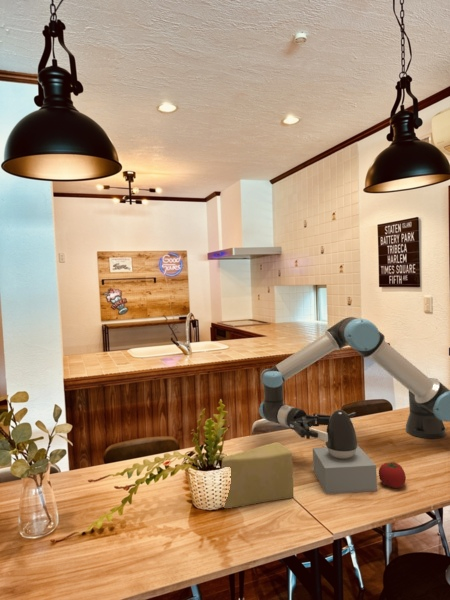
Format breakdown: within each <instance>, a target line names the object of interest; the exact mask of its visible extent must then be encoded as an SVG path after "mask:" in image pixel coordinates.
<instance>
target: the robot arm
mask: <svg viewBox="0 0 450 600" xmlns="http://www.w3.org/2000/svg"><path fill="white" fill-rule="evenodd" d="M385 337H386V336H385V335H384V334H383V333H382V332H381V331H380V330H379V328H378V327H377V326H376V325H375V324H374V323H373V322H372V321H370V320H368V319H366V318H359V317H358V318H357V317H354V316H351V317H345V318H343V319H342V320H340V321H338V322H336V323H334V324H333V325H332V326H331V327H329V328H328V329H325V332H324V334H323V335H321V336H320V337H318V338H317V339H315V340H314V341H312V342H311V343H309V344H307V345H306V346H304V347H302V348H300V350H298V351H296V352H294V353H293V354H292V355H290V356H288V357H286V358H285V359H283V360H282V361H280V362H279V363H278V364H275V365H274V366H272V367H271V368H266V369H264V370H263V371H262V372H261V373H260V383H261V385H262V388H263V396H264V399H263V401H262V402H261V403H260V404H259V407H258V413H259V415H260V417H261V418H262V419H263V420H266V421H268V422H271V423H275V424H278V425H281V426H284V427H286V428H290V430H293V431H294V432H295V433H296V434H297V435H298V436H299V437H301V438H303V439H305V438H306V440H310V439H311V438H313V439H316V440H319V441H322V442H328V433H326V431H323V430H320V429H315V428H313V427H319V426H328V422H329V419H330V417H331V415H332V414H331V415H329V414H319V413H315V412H314V413H313V414H312V415H311V414H307V413H306V411H305V410H303V409H302V408H298V407H294V406H291V405H287V404H284V382H286V381H287V380H289V379H290V378H292V377H293V376H295V375H296V374H298V373H300V372H301V371H303V370H304V369H306V368H308V367H310V366H311V365H313V364H314V363H315V362H317V361H318V360H320V359H322V358H323V357H325V356H327V355H328V354H330V353H331V352H333V351H335V350H336V351H339V350H341V349H343V348H345V347H348V346H349V347H350V348H352V349H353V350H355V352H356V353H358V354H359V355H360V356H361V357H362V358H368V359H369V358H370V359H371V360H372V361H374V362H375V364H377V365H378V366H380V368H382V369H383V370H385V372H387V373H388V374H389V375H390V376H392V378H394V379H395V380H396V381H397V382H399V383H400V384H401V385H402V386H403V387H404V388H406V389H407V390H408V402H409V403H408V404H409V406H408V407H409V414H408V417H407V420H406V423H405V432H406V433H407V434H409V435H411V436H413V437H418V438H421V439H440V438H443V437H446V435H447V434H446V433H447V431H446V426H445V424H444V422H445V423H446V422H450V389H449V388H448V387H447V386H445V385H444V384H443V383H442V382H441V381H440V380H439V379H438V378H434V377H433V378H432V377H428V375H426V374H425V373H423V371H421V370H420V369H419V368H417V367H416V365H414V364H413V363H412V362H410V360H408V359H407V358H406V357H404V356H403V355H402V354H401V353H400V352H399V351H397V350H396V349H395V348H393V347H392V346H391V345H390V344H389V343H387V342H386V339H385ZM352 424H353V425H354V422H352Z"/></svg>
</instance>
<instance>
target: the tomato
mask: <svg viewBox="0 0 450 600" xmlns="http://www.w3.org/2000/svg"><path fill="white" fill-rule="evenodd" d="M378 478H379V480H380V482H381V483H382V484H383V485H384V486H386V487H390V488H392V489H400V488H402V487H403V486H404V485H405V483H406V478H407V477H406V473H405V471H404V468H403V467H402V466H401V465H400V464H399V463H397V462H395V461H391V462H385V463H383V464H381V465H380V466H379V468H378Z"/></svg>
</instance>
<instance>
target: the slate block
mask: <svg viewBox="0 0 450 600" xmlns="http://www.w3.org/2000/svg"><path fill="white" fill-rule="evenodd" d="M312 464H313V466H312V467H313V472H314V474H315V476H316V478H317V480H318V481H319V483H320V485H321V487H322V489H323V491H324V492H325V494H327V495H328V494H343V493H344V494H346V493H359V492H360V493H361V492H362V493H363V492H377V491H378V478H377V477H378V476H377V474H378V473H377V465H376V463H375V462H374V461H373V460H372V459H371V458H370V457H369V456H368V454H366V452H365V451H364V450H363V449H362V448H361V447H360V446H359V445H358V446H357V448H356V452H355V454H354V455H353V456H352V457H350V458H348V459H338V458H336V457H334V456H332V455H331V454H330V453H329V451H328V449H327V446H322V447H319V446H318V447H312Z"/></svg>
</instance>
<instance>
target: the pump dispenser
mask: <svg viewBox="0 0 450 600" xmlns="http://www.w3.org/2000/svg"><path fill="white" fill-rule="evenodd" d="M356 415H357V412H356V411H353V412H350V413H347V412H346V411H344V410H342V409H337V410H334V411H333V412H332V414H331V417H330V419H329V422H328V425H326V431H325V432H326V433H328V442H325V441H324V442H325V447H327V449H328V451H329V453H330V454H331V455H332V456H334V457H336V458H338V459H348V458H350V457H352V456H353V455H354V454H355V452H356V448H357V446H359V445H358V439H357V433H356V429H355V427H354V423H353V422H352V419H351V418H353V417H354V416H356ZM352 423H353V424H352Z"/></svg>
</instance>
